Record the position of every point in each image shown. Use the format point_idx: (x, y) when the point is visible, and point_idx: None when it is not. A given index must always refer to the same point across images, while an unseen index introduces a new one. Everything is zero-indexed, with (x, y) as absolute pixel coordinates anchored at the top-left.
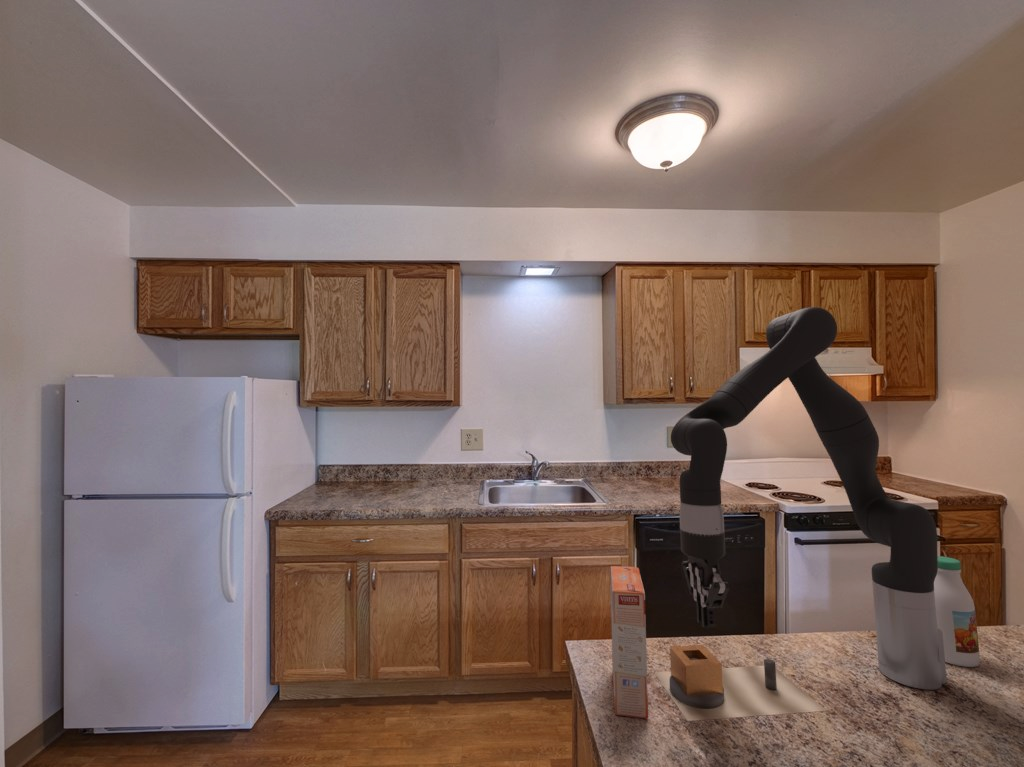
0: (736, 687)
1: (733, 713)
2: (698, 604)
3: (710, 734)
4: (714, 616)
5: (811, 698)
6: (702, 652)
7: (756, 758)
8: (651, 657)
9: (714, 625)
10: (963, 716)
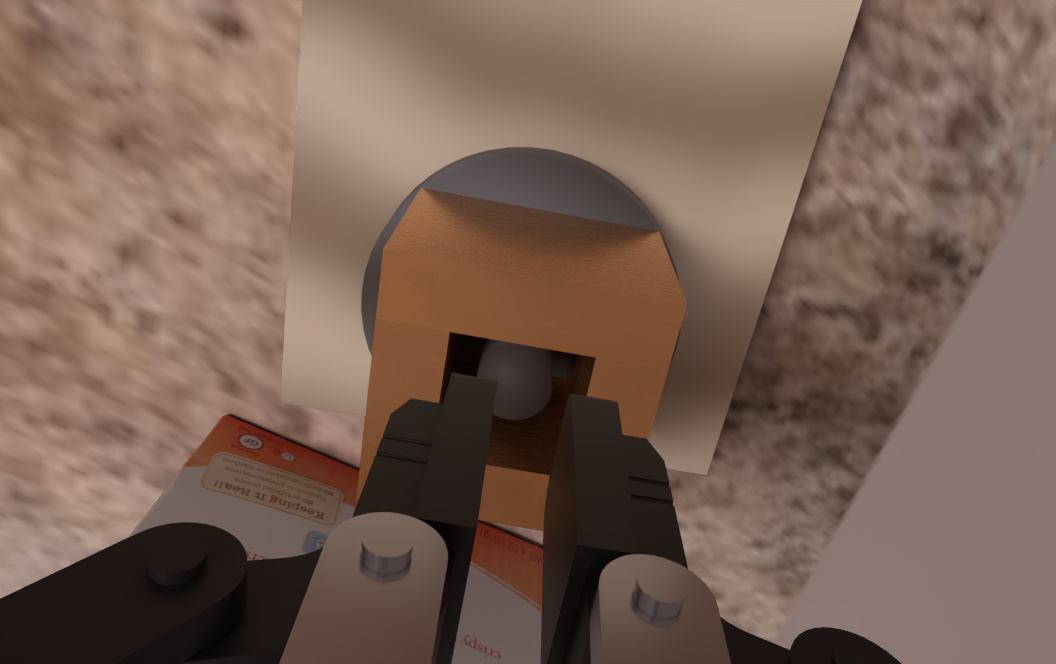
0: (548, 13)
1: (752, 229)
2: (448, 658)
3: (758, 376)
4: (671, 521)
5: None
6: (495, 332)
7: (971, 291)
8: (40, 260)
9: (648, 451)
10: None
